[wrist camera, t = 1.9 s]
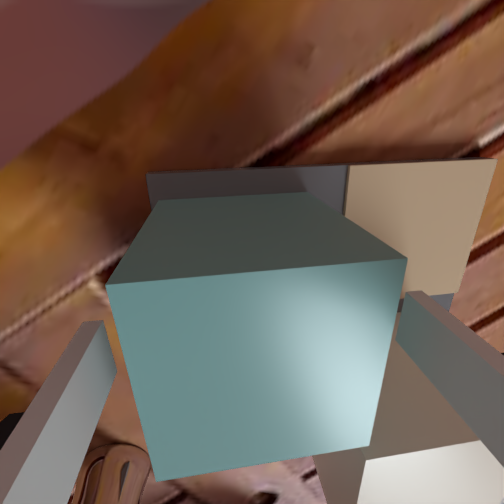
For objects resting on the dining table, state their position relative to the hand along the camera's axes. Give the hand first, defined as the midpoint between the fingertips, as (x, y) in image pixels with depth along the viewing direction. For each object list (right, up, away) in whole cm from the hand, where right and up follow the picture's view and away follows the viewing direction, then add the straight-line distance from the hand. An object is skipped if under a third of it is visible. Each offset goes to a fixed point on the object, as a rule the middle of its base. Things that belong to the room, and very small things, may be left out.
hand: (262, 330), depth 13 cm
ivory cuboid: (+8, -6, +12) cm, 15 cm away
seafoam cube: (-1, +3, +7) cm, 7 cm away
